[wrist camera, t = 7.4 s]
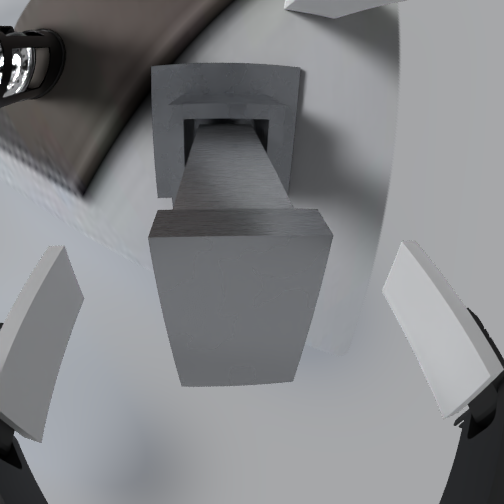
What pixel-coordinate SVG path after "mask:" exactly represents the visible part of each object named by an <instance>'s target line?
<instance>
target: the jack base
mask: <svg viewBox="0 0 504 504" xmlns="http://www.w3.org/2000/svg"><path fill="white" fill-rule="evenodd" d="M299 80H300V68H299V67H290V66H279V65H267V64H249V63H191V64H173V65H161V66H151V94H152V124H153V143H154V158H155V171H156V183H157V193H158V198H167V197H172V201H173V207H174V203H175V200H176V196H177V193H178V189H179V186H180V183H181V179H182V176H183V173H184V170H185V166H186V163H187V160H188V157H189V154H190V151H191V148H192V145H193V142H194V139H195V136H196V133H197V130H198V127H199V125H200V124H251V125H252V127H253V129H254V131H255V133H256V134H257V136H258V138H259V140H260V142H261V144H262V146H263V148H264V150H265V152H266V154H267V155H268V157H269V159H270V161H271V163H272V165H273V167H274V169H275V171H276V173H277V175H278V177H279V179H280V181H281V183H282V185H283V187H284V189H285V191H286V193H287V195H288V190H289V182H290V172H291V163H292V154H293V144H294V134H295V124H296V114H297V103H298V92H299Z"/></svg>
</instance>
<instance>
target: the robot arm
mask: <svg viewBox="0 0 504 504" xmlns="http://www.w3.org/2000/svg"><path fill="white" fill-rule="evenodd" d="M382 292H383V294H384V296H385V298H386V299H387V301H388V304H389V305H390V307H391V309H392V311H393V313H394V314H395V317H396V318H397V320H398V322H399V324H400V326H401V328H402V330H403V332H404V334H405V336H406V338H407V339H408V341H409V344H410V346H411V348H412V350H413V352H414V354H415V356H416V358H417V360H418V362H419V364H420V366H421V368H422V371H423V373H424V375H425V377H426V379H427V382H428V384H429V386H430V388H431V391H432V393H433V395H434V398H435V400H436V402H437V405H438V407H439V409H440V412H441V414H442V417H443V419H445V418H447V417H450V416H452V415H454V414H456V413H458V412H459V411H461V410H462V409H463V408H464V407H465V406H466V405H468V406H469V409H468V410H467V411H466V412H465V413H463V414H462V415H461V416H460V417H459V418H458V419H457V420H456V421H455V423H454V426H456V425H457V424H459V423H460V422H461V421H463V420H464V422H463V423H461V424H460V425H459V427H460V428H462V432H461V436H460V441H459V445H458V449H457V452H456V456H455V459H454V463H453V466H452V469H451V472H450V476H449V479H448V482H447V485H446V487H445V490H444V493H443V496H442V498H441V501H440V503H439V504H504V359H503V357H502V355H501V354H500V352H499V350H498V349H497V347H496V345H495V344H494V342H493V340H492V339H491V338H490V337H489V334H488V332H487V331H486V329H484V326H483V324H482V323H481V321H480V320H479V318H478V317H477V316H476V315H475V314H474V313H473V312H472V311H471V310H470V309H469V308H466V307H465V305H464V304H463V303H462V301H461V299H460V298H459V297H458V295H457V294H456V292H455V291H454V290H453V288H452V287H451V286H450V284H449V283H448V281H447V280H446V279H445V277H444V276H443V275H442V273H441V272H440V271H439V270H438V268H437V267H436V266H435V265H434V263H433V262H432V261H431V259H430V258H429V257H428V256H427V254H426V253H425V252H424V251H423V249H422V248H421V247H420V246H419V244H418V243H417V242H416V241H401V244H400V246H399V249H398V252H397V254H396V257H395V260H394V262H393V265H392V268H391V270H390V272H389V275H388V277H387V280H386V282H385V284H384V287H383V289H382ZM83 300H84V297H83V294H82V292H81V290H80V287H79V285H78V282H77V279H76V277H75V274H74V271H73V269H72V266H71V263H70V260H69V258H68V255H67V252H66V249H65V246H49V247H48V248H47V250H46V251H45V253H44V254H43V256H42V257H41V259H40V261H39V262H38V264H37V265H36V267H35V268H34V270H33V272H32V273H31V275H30V277H29V278H28V280H27V282H26V283H25V285H24V287H23V288H22V290H21V292H20V294H19V296H18V298H17V299H16V301H15V303H14V305H13V307H12V308H11V310H10V312H9V314H8V316H7V318H6V320H5V322H4V323H0V504H48V503H47V501H46V499H45V498H44V496H43V494H42V492H41V490H40V488H39V486H38V485H37V483H36V481H35V478H34V476H33V474H32V473H31V470H30V468H29V466H28V464H27V462H26V460H25V457H24V455H23V453H22V450H21V448H20V445H19V443H18V441H17V439H16V438H15V436H13V435H14V431H17V432H18V433H19V434H21V435H22V436H23V437H25V438H28V439H31V440H34V441H37V442H40V443H41V442H42V437H43V432H44V427H45V423H46V418H47V414H48V409H49V405H50V401H51V397H52V393H53V390H54V386H55V382H56V379H57V375H58V372H59V369H60V365H61V362H62V359H63V356H64V353H65V350H66V347H67V344H68V341H69V338H70V335H71V332H72V329H73V326H74V324H75V321H76V318H77V316H78V313H79V310H80V308H81V305H82V303H83Z"/></svg>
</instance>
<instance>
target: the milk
mask: <svg viewBox="0 0 504 504" xmlns="http://www.w3.org/2000/svg"><path fill="white" fill-rule="evenodd" d="M401 1H405V0H285V6H284V9H286V10H292V11H298V12H304V13H309V14H314V15H319V16H324V17H328V18H333V19H336V18H339V17H343V16H346V15H349V14H352V13H356V12H359V11H363V10H367V9H370V8H374V7H378V6H382V5H387V4H391V3H396V2H401Z"/></svg>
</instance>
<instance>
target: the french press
mask: <svg viewBox="0 0 504 504" xmlns="http://www.w3.org/2000/svg"><path fill="white" fill-rule="evenodd" d="M35 48H49V53H50V60H49V66H48V70H47V73H46V76H45V78H44V80H43V82H42V83H41V85H40V86H39V87H38V88H34V89H31V90H28V89H26V88H27V87H28V85H29V83H30V81H31V79H32V76H33V73H34V70H35V64H36V49H35ZM65 55H66V52H65V46H64V43H63V40H62V39H61V37H60V36H59V35H58V34H57V33H56V32H54V31H52V30H48V29H40V30H28V31H24V32H14V29H13V27H12V26H0V108H1V107H4V106H7V105H9V104H12V103H15V102H20V101H24V100H27V99H35V98H39V97H41V96H43V95H45V94H46V93H47V92H49V91H50V90H51V89H52V88H53V87H54V85H55V84H56V83H57V81H58V80H59V78H60V76H61V74H62V71H63V68H64V64H65Z"/></svg>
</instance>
